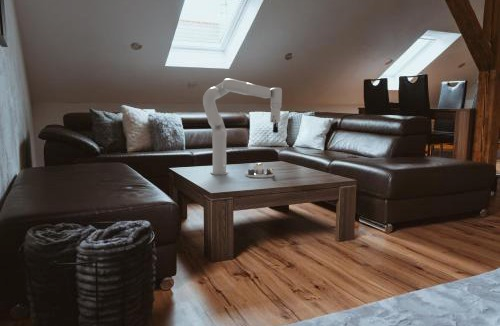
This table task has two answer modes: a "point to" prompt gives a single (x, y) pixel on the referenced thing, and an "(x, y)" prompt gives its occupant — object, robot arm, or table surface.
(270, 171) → the footscrew knob
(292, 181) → the table surface
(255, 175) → the tribrach
